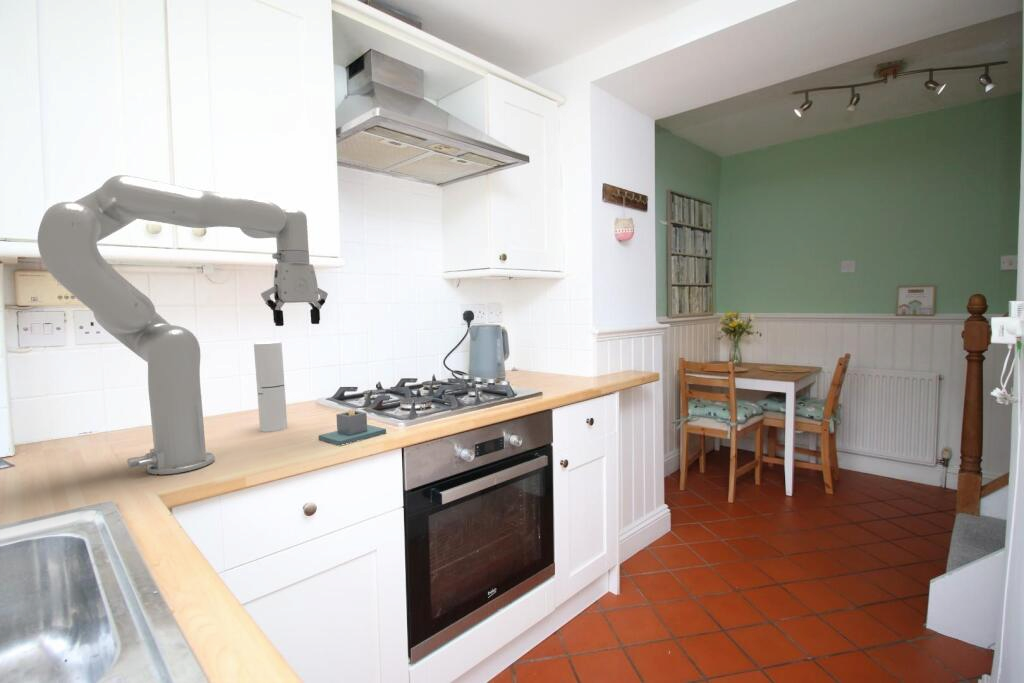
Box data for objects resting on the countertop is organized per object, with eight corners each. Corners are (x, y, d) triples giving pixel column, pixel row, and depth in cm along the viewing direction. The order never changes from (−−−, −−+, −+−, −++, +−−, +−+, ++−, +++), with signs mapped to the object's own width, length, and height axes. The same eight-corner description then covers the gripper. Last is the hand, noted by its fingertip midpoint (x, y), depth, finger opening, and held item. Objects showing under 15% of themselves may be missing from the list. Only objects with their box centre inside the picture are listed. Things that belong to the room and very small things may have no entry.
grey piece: (280, 431, 138) (273, 343, 136) (255, 432, 138) (248, 344, 136) (291, 425, 145) (286, 341, 143) (268, 425, 145) (262, 342, 143)
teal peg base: (339, 446, 121) (338, 417, 121) (318, 439, 128) (316, 412, 127) (386, 433, 132) (384, 407, 132) (364, 428, 139) (363, 403, 138)
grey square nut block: (349, 436, 126) (348, 417, 126) (337, 432, 129) (336, 414, 129) (367, 431, 130) (366, 412, 130) (355, 428, 134) (354, 410, 133)
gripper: (266, 256, 117) (271, 326, 119) (332, 259, 131) (335, 323, 132) (252, 258, 122) (257, 326, 123) (317, 261, 135) (321, 323, 137)
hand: (297, 324), depth 128 cm, fingers open, 9 cm apart
